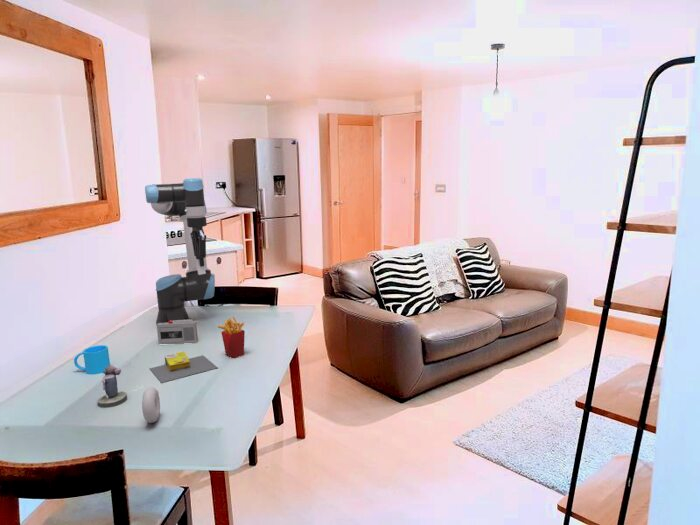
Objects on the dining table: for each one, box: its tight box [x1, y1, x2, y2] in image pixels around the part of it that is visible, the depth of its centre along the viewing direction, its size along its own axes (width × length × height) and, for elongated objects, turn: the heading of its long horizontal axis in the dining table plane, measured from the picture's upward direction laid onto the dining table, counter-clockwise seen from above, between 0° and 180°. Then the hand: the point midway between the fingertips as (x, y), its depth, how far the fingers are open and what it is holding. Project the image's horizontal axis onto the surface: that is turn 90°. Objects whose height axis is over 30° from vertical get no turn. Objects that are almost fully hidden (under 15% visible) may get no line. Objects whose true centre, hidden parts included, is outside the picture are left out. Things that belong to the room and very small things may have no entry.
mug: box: [73, 344, 111, 375], centre depth 183 cm, size 12×8×8 cm
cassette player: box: [156, 318, 199, 345], centre depth 209 cm, size 16×3×10 cm, turn 93°
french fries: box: [217, 316, 246, 359], centre depth 192 cm, size 9×8×15 cm
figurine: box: [96, 365, 128, 409], centre depth 156 cm, size 8×8×12 cm
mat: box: [149, 354, 218, 384], centre depth 182 cm, size 16×20×1 cm
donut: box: [141, 386, 161, 424], centre depth 143 cm, size 10×3×10 cm, turn 11°
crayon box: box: [164, 351, 190, 371], centre depth 184 cm, size 7×3×12 cm
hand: (201, 273), depth 206 cm, fingers closed
